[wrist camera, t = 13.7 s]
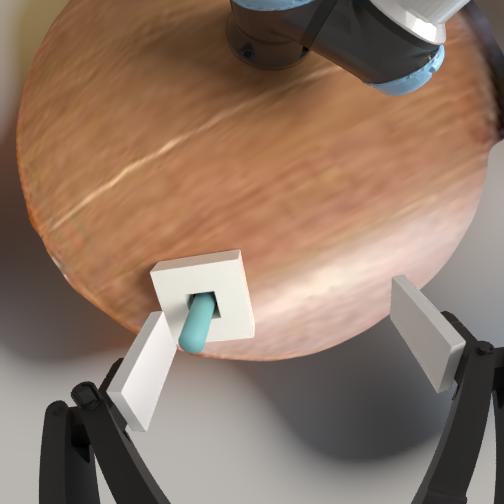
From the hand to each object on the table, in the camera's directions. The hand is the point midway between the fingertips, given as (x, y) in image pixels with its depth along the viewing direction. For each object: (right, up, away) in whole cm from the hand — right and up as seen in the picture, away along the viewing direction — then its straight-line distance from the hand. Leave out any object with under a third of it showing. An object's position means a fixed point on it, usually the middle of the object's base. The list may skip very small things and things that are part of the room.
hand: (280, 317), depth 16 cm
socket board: (-10, -5, +41) cm, 42 cm away
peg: (-10, -5, +41) cm, 42 cm away
